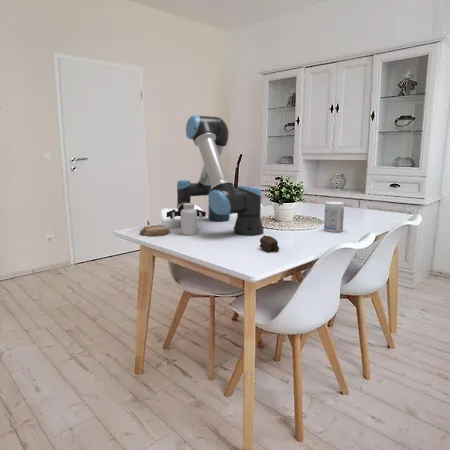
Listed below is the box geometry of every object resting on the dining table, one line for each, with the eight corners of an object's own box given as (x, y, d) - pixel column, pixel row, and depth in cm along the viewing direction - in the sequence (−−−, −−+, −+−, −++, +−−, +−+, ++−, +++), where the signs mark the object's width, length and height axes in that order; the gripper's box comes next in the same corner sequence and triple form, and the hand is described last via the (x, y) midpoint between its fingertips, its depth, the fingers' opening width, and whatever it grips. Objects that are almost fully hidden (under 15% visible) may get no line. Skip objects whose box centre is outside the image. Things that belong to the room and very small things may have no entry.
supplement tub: (335, 228, 200) (337, 201, 197) (346, 231, 191) (348, 203, 188) (319, 229, 196) (321, 201, 194) (330, 233, 188) (332, 204, 185)
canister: (228, 222, 215) (228, 192, 211) (206, 221, 217) (206, 191, 213) (231, 217, 228) (232, 189, 223) (210, 216, 229) (210, 188, 225)
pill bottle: (190, 236, 178) (190, 205, 175) (177, 234, 182) (177, 203, 180) (200, 233, 185) (200, 203, 182) (187, 231, 189) (187, 202, 186)
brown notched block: (282, 239, 149) (265, 231, 157) (269, 248, 147) (254, 239, 155) (284, 251, 153) (268, 242, 160) (272, 259, 150) (257, 250, 158)
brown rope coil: (174, 233, 184) (174, 227, 183) (150, 237, 174) (150, 231, 173) (158, 229, 193) (158, 223, 193) (134, 233, 184) (134, 227, 183)
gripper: (207, 216, 207) (212, 224, 187) (162, 217, 203) (162, 225, 183) (207, 203, 206) (212, 209, 185) (161, 203, 202) (161, 210, 181)
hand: (187, 217), depth 184 cm, fingers open, 13 cm apart
